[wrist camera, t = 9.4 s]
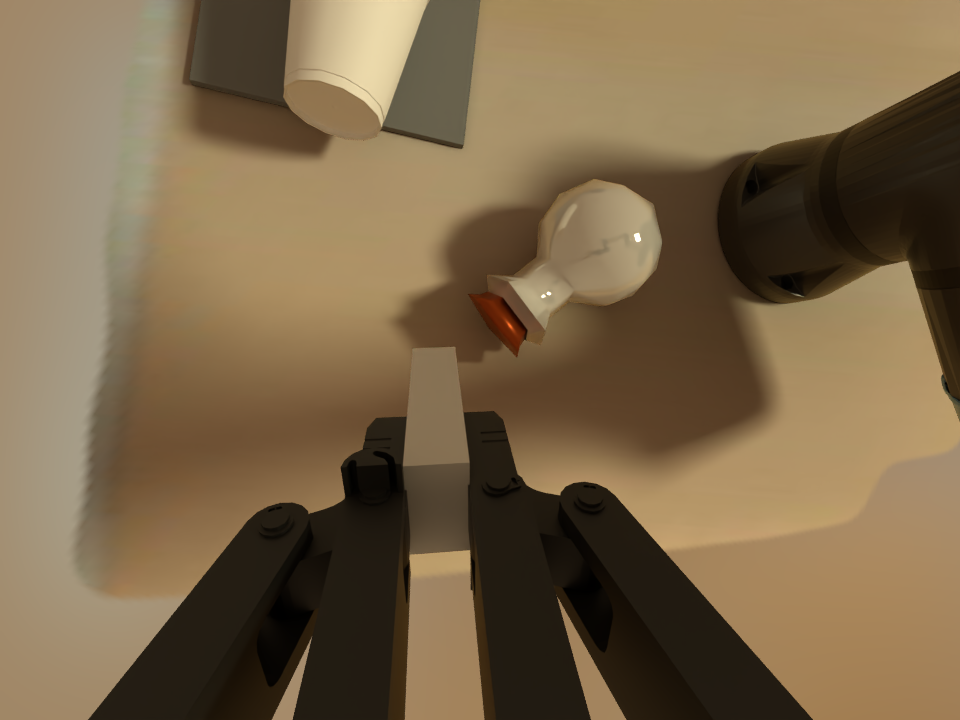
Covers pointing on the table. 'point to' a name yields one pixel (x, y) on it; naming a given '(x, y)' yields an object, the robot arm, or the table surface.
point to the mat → (422, 85)
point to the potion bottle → (575, 261)
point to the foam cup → (347, 61)
